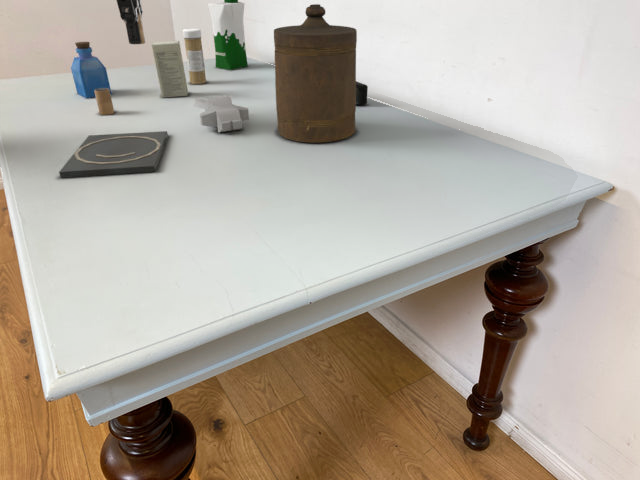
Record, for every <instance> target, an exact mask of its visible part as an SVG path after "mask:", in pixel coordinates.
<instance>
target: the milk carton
mask: <svg viewBox="0 0 640 480" xmlns="http://www.w3.org/2000/svg"><path fill="white" fill-rule="evenodd" d="M207 6H208V10H209V14H210V19H211V25H212V32H213V33H212V34H213V43H214V52H215V53H214V54H215V68H218V69H223V70H230V71H234V70H239V69H243V68H248V66H249V64H248V57H247V49H246V40H245V39H246V38H245V25H244V13H245V2H240V1H239V0H223V1H220V2H219V1H215V2H211V3H207Z"/></svg>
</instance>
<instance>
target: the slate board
mask: <svg viewBox="0 0 640 480" xmlns="http://www.w3.org/2000/svg"><path fill="white" fill-rule="evenodd" d="M168 138H169V134H168V131H167V130H163V131H161V130H160V131H145V132H144V131H143V132H127V133H126V132H125V133H124V132H123V133H110V134H109V133H108V134H106V133H105V134H90V135H88V136H87V137H86V138H85V139H84V140H83V142H82V143H81V144H80V145H79V147H78V148H77V149H76V150H75V152H74V153H73V154H72V155H71V157H70V158H69V159H68V160H67V161H66V162H65V164H64V165H63V166H62V167H61V169H60V170H59V171H58V174H59V177H60V178H61V179H66V178H80V177H82V178H83V177H94V176H95V177H97V176H114V175H127V174H143V173H145V174H146V173H155V172H156V171H157V168H158V165H159V163H160V160H161V156H162V155H163V152H164V148H165V145H166V143H167V140H168Z"/></svg>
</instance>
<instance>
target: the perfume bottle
mask: <svg viewBox="0 0 640 480" xmlns="http://www.w3.org/2000/svg"><path fill="white" fill-rule="evenodd" d="M74 44H75V46H76V48H75V52H76V54H78V56H75V57H73V60H72V64H71V66H70V70H71V74H72V78H73V82H74V86H75V91H76V93H77V95H78V96H81V97H83V98H85V99H91V98H96V96H95V92H94V90H96V89H98V88H108V89H109V90H110V95H113V93H112V88H111V85H110V80H109V76H108V71H107V68H106V66H105V65H104V64H103V62H102V61H101V60H100V58H98V56H95V55H93V49H92V47H91V45H90V44H91V43H90V41H76V42H74Z"/></svg>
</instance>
